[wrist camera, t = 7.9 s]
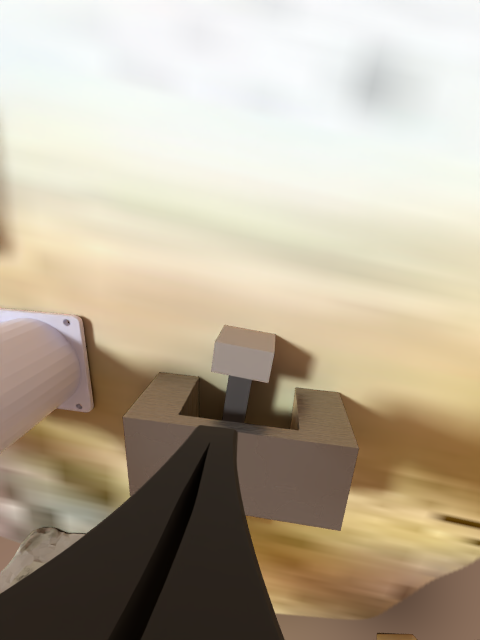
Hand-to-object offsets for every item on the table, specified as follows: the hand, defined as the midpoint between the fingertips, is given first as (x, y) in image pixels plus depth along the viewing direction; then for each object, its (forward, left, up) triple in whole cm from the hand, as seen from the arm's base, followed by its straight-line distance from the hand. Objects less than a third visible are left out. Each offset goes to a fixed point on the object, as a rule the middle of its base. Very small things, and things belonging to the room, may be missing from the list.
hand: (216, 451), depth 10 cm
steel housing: (0, -6, -10) cm, 12 cm away
